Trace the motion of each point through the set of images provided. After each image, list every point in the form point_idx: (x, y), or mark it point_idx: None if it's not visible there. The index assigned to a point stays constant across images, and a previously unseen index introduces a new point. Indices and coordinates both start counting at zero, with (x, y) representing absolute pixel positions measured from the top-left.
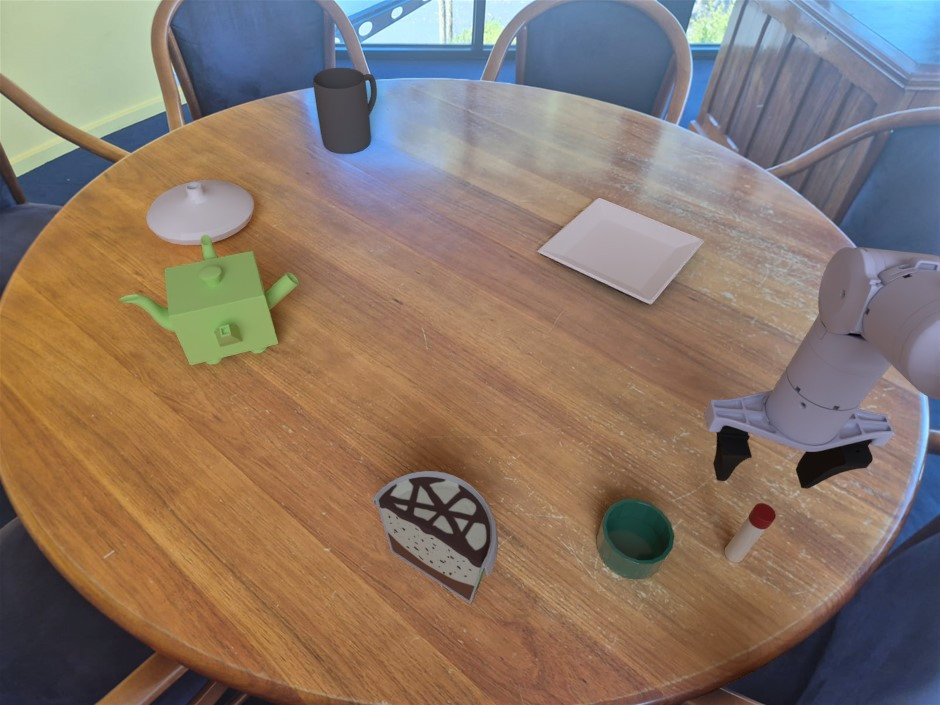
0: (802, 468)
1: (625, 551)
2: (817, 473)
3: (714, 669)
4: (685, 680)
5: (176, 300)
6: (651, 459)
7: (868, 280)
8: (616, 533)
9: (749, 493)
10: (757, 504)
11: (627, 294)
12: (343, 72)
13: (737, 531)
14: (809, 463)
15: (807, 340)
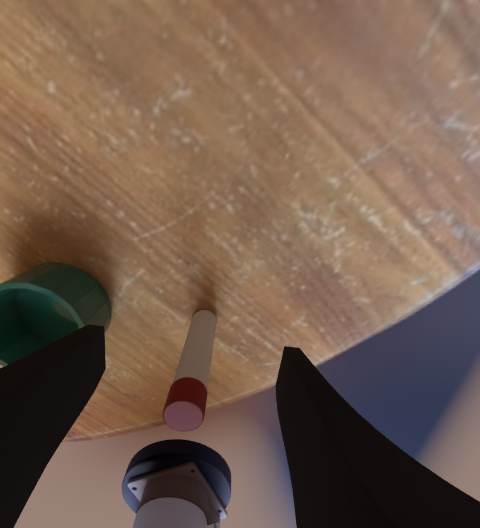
0: (287, 378)
1: (51, 318)
2: (290, 458)
3: (149, 425)
4: (117, 432)
5: None
6: (107, 156)
7: None
8: (38, 294)
9: (262, 230)
10: (172, 404)
11: None
12: None
13: (185, 344)
14: (294, 409)
15: None
